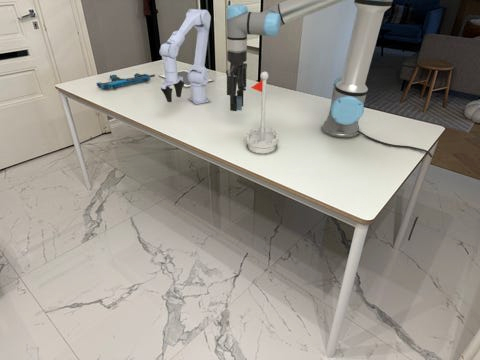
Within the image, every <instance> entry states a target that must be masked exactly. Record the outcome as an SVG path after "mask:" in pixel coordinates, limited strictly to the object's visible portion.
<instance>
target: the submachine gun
mask: <svg viewBox="0 0 480 360" xmlns="http://www.w3.org/2000/svg"><path fill="white" fill-rule="evenodd" d="M154 77H156V74H147V73H142V74H141V73H139V72H137V73H135V74H133V77H128V78H121V77H119V76H118V75H117V74H110V75H109V79H111V81H107V82H96V83H95V84H96V87H98V88H99V89H101V90H102V91H103V90H109V89H113V90H116V88H118V87H119V88H120V87H122V86H127V85H133V84H138V83H142V82H148V81H149V80H150V79H151V78H154Z"/></svg>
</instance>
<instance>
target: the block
mask: <svg viewBox="0 0 480 360" xmlns="http://www.w3.org/2000/svg"><path fill="white" fill-rule="evenodd" d="M236 96H237V95H236ZM237 111H239V112H240V111H241V112H242V111H243V107H242V96H237Z"/></svg>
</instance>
